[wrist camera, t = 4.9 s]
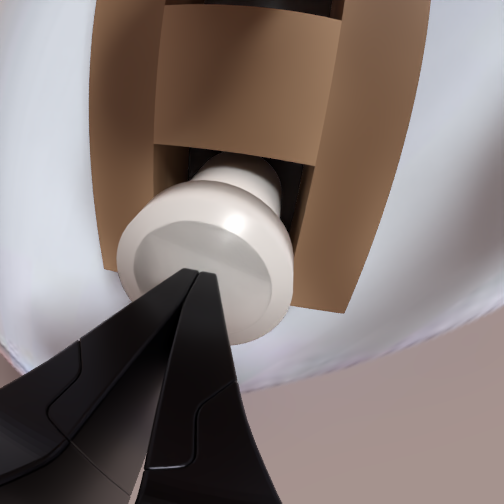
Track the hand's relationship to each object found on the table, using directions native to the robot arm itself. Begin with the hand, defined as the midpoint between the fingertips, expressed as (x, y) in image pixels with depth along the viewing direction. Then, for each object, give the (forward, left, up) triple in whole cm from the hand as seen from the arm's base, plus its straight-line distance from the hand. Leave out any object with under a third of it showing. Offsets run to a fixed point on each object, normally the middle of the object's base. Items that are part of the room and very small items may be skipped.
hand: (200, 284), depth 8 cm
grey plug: (0, 0, -6) cm, 6 cm away
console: (0, -9, -7) cm, 12 cm away
